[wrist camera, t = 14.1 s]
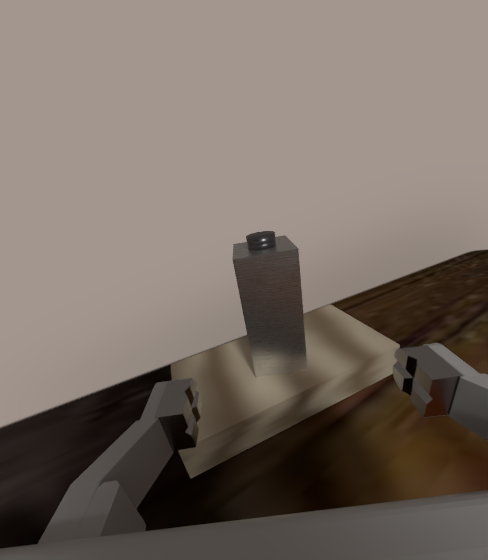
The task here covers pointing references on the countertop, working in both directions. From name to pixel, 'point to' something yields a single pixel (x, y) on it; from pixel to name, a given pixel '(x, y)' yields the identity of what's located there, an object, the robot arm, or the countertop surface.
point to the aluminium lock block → (271, 302)
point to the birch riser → (279, 385)
